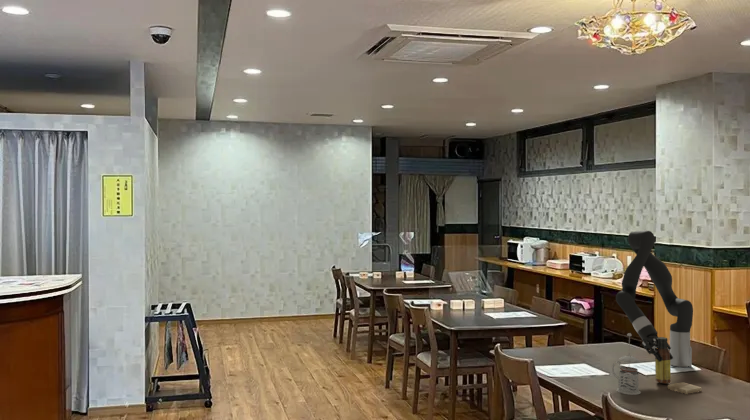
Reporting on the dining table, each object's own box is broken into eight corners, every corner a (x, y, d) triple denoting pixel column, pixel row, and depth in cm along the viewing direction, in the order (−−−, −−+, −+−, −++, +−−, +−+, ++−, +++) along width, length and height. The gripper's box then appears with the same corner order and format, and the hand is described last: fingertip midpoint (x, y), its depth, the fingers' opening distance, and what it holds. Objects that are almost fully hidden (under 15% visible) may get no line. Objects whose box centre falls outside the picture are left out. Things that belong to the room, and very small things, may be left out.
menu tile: (667, 384, 280) (686, 390, 272) (682, 382, 285) (701, 387, 277) (667, 389, 280) (686, 395, 272) (682, 386, 285) (701, 392, 277)
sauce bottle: (669, 381, 290) (670, 337, 290) (671, 384, 284) (672, 339, 284) (654, 379, 292) (655, 335, 292) (655, 383, 286) (656, 338, 286)
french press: (638, 396, 269) (639, 336, 269) (609, 391, 275) (610, 333, 275) (642, 390, 278) (643, 332, 277) (614, 386, 284) (615, 329, 283)
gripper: (638, 325, 291) (660, 357, 281) (660, 322, 298) (682, 353, 288) (628, 334, 296) (650, 366, 286) (650, 332, 303) (671, 362, 292)
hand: (666, 359), depth 287 cm, fingers closed on sauce bottle, 6 cm apart
